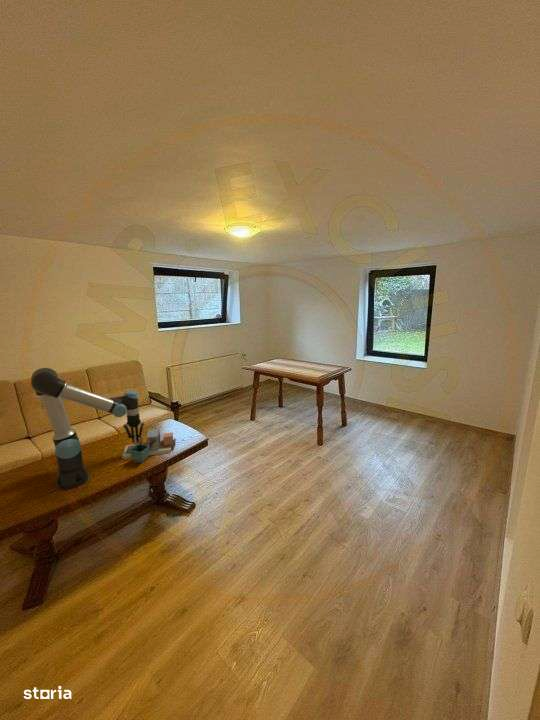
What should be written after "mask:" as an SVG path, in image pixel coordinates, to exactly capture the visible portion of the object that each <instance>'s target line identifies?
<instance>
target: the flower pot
mask: <svg viewBox="0 0 540 720" xmlns="http://www.w3.org/2000/svg"><path fill="white" fill-rule="evenodd" d="M130 455H131V458H130V459H132V461H133V462H135V463H139V464H142V463H144V462H145V461H146V460H147V459H148V457H149V456H150V455H149V445H140V444H139V443H138V445H136V446H135V447H134V448H132V449H131V450H130ZM148 455H149V456H148Z"/></svg>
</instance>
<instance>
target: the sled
mask: <svg viewBox="0 0 540 720" xmlns="http://www.w3.org/2000/svg"><path fill="white" fill-rule="evenodd" d="M176 442H177V441H176V437H173V444H171V445H164V441H163V439H161V440H160V441H159V442H158V443H159V448H166V447H171V448H173V447H176ZM137 443H138V444H140V445H147V442H145V443H144V442H143V437H142V436H141V437H139V442H137ZM149 446H150V448H155V447H157V444H156V442H151V443H150V442H149Z"/></svg>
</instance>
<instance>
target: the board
mask: <svg viewBox="0 0 540 720" xmlns="http://www.w3.org/2000/svg"><path fill="white" fill-rule="evenodd" d="M134 447H135V445H134V444H128V445H125V448H124V450H123V452H122V455H121V459H122V460H126V459H132V458H131V455H130V450H131V449H132V448H134ZM171 453H172V447H166V448H159V450H157V451H149V455H148V457H149V456H155V455H156V456H157V455H165V454H171Z"/></svg>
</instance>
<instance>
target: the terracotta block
mask: <svg viewBox="0 0 540 720" xmlns="http://www.w3.org/2000/svg"><path fill="white" fill-rule="evenodd" d="M162 440H163V441H164V445H171V444H173V440H174V432H166V433H163V436H162Z"/></svg>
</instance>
